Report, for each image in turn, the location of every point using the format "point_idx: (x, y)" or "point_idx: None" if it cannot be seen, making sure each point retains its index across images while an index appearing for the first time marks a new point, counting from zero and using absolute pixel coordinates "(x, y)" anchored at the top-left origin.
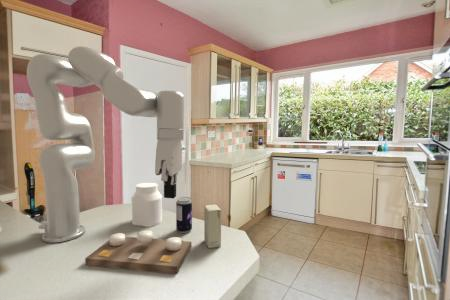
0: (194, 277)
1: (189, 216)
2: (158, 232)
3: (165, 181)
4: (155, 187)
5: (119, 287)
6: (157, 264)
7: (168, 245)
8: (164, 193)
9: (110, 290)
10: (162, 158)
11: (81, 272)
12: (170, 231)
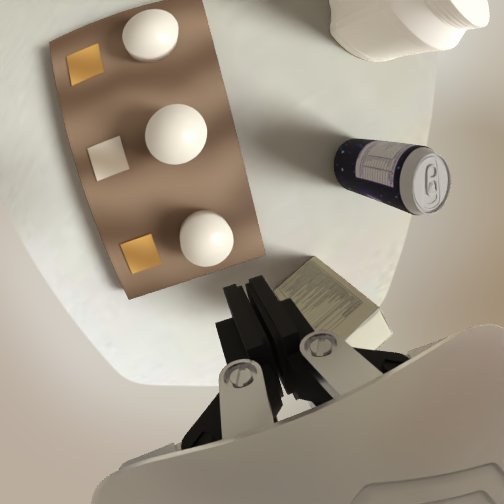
0: (142, 328)
1: (377, 200)
2: (312, 88)
3: (209, 425)
4: (465, 23)
5: (28, 207)
6: (107, 249)
7: (180, 236)
8: (229, 305)
9: (14, 199)
10: None
11: (30, 71)
12: (333, 123)
